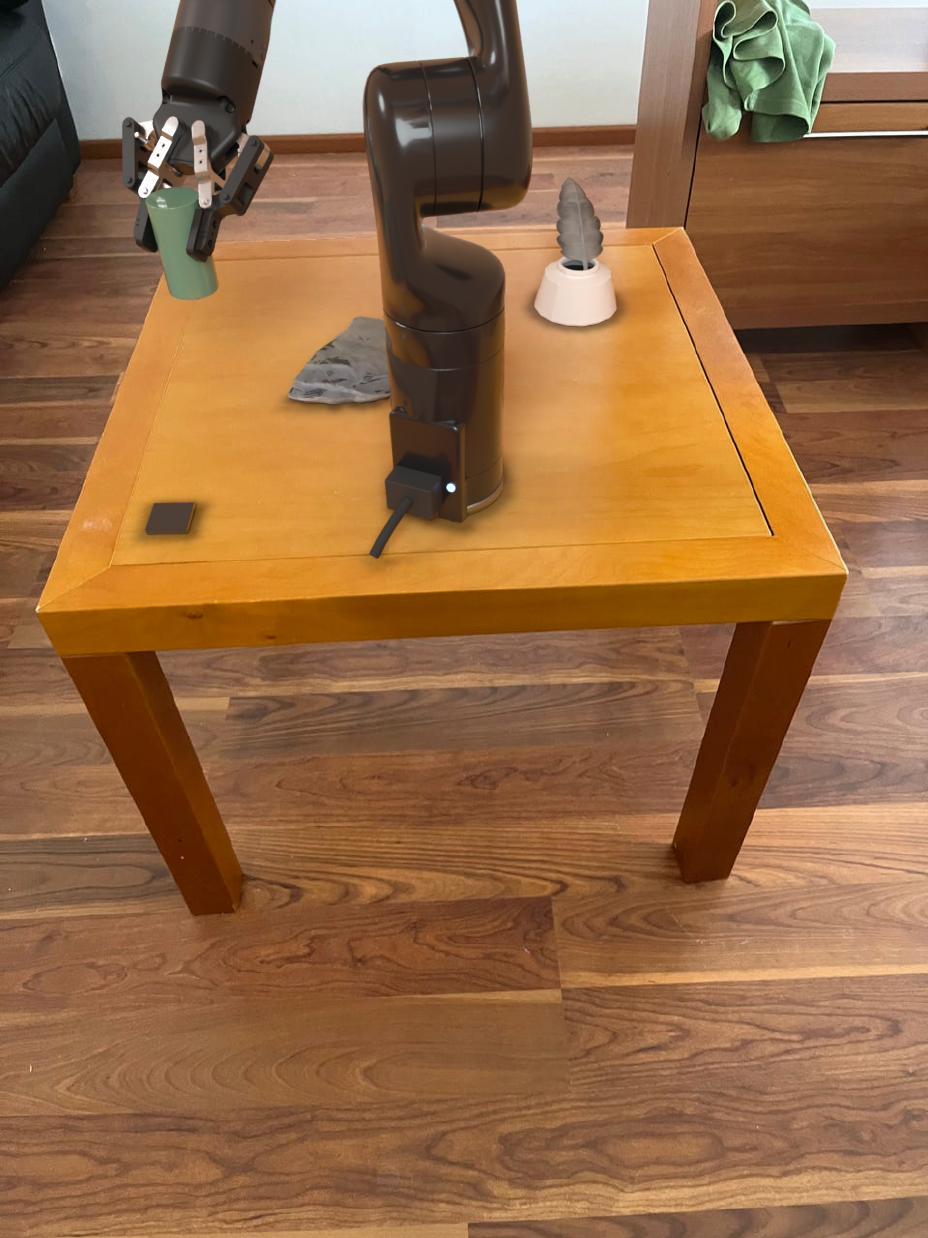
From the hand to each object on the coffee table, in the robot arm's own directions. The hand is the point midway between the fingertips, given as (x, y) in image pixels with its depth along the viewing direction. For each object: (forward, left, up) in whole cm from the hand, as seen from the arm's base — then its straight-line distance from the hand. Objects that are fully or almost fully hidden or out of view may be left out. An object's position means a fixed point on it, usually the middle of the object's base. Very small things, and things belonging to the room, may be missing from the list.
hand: (170, 252), depth 79 cm
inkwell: (+37, -24, -16) cm, 47 cm away
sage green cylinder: (+2, 0, -4) cm, 4 cm away
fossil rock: (+13, -14, -16) cm, 25 cm away
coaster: (-15, -6, -16) cm, 23 cm away
